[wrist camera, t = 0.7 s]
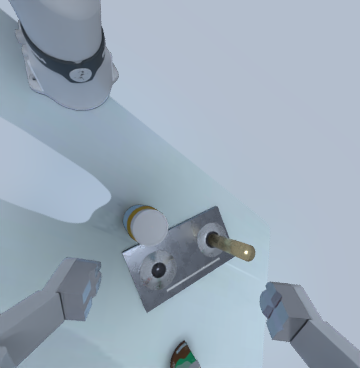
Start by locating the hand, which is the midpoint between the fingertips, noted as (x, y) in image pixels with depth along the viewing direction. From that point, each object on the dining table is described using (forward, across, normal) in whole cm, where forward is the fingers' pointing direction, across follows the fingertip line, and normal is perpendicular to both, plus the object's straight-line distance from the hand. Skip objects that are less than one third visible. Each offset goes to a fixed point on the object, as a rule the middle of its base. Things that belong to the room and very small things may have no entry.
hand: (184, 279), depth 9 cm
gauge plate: (+30, -5, +30) cm, 42 cm away
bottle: (+31, +7, +22) cm, 38 cm away
